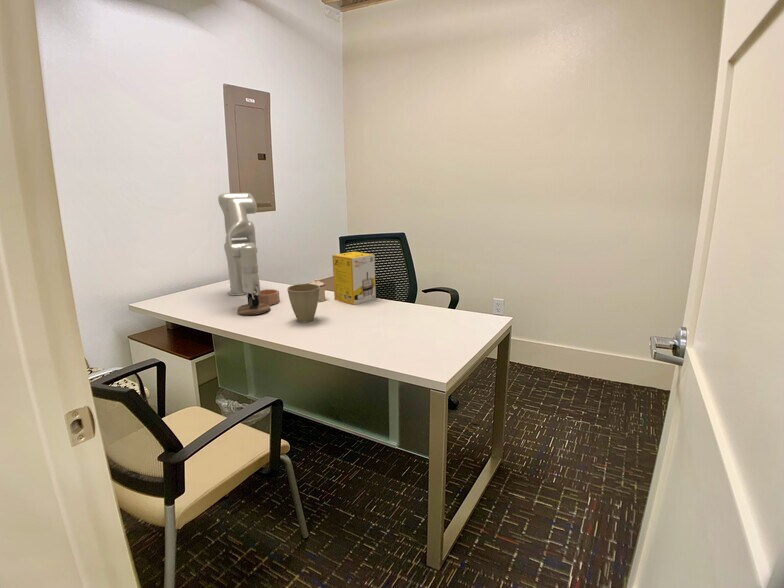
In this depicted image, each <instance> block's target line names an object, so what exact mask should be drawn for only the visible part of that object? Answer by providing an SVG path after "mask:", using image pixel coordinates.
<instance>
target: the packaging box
mask: <svg viewBox="0 0 784 588" xmlns="http://www.w3.org/2000/svg"><path fill="white" fill-rule="evenodd" d="M331 258H332V259H331V260H332V274H333V275H332V278H333V294H334V295H333V296H334V301H337V300H338V302H341V303H345V304H348V305H352V306H355V305H359V304H363V303H366V302H370V301H373V300H376V299H377V297H376V296H377V294H376V293H377V292H376V290H377V289H376V288H377V287H376V256H375V253H367V252H361V251H360V252H359V251H350V252H344V253H337V254H332V255H331Z"/></svg>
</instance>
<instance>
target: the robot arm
mask: <svg viewBox="0 0 784 588" xmlns="http://www.w3.org/2000/svg"><path fill="white" fill-rule="evenodd" d="M217 199H218V204H219V207H220V210H221V211H222V213H223V216H224V217H223V218H224V219H223V220H224V227H225V229H224V230H225V235H226V236H225V243H224V244H223V248H224V252H225V256H226V260H227V261H226V262H227V268H228V276H229V277H228V278H229V288H230V290H229V291H228V293H227V294H228V296H229V295H230V296H234V295H237V296H245V295H246V297H247V304H248V305H249V298H251V297H253V299H252V304H253V307H256V306H259V300H258V298H259V295H260V290H261V285H260V277H259V274H258V273H259V267H258V266H259V265H258V255H257V254H258V247H257V239H256V227H255V225H254V223H253V222H252V221H251V220H249V219H248V215H250V214H251V215H252V214H253V215H254V214H256V213H257V210H258V205H257V202H256V200H255V197H254V196H253V195H252V194H251V193H250V192H226V193H221V194H219V195H218V198H217ZM244 238H245V239H244ZM244 294H245V295H244ZM254 294H256V295H255V296H254Z"/></svg>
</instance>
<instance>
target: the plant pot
mask: <svg viewBox="0 0 784 588" xmlns="http://www.w3.org/2000/svg"><path fill="white" fill-rule="evenodd" d="M286 290H287V295H288V299H289V302H290V306H291V308H292V311H293V314H294V315H295V318H296V320H297V322H299V321H300V322H299V323H309V322H313V320H314V318H315V315H316V312H317V308H318V303H319V302H318V298H319V290H320V286H318V285H315V284H309V283H298V284H293V285H290V286H288V287H287V288H286Z"/></svg>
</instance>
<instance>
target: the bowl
mask: <svg viewBox="0 0 784 588" xmlns="http://www.w3.org/2000/svg"><path fill="white" fill-rule="evenodd" d="M255 295H256V294H254V296H255ZM280 299H281V298H280V290H277V289H262V290H261V289H260V295H259V298H258V300H259V303H265V304H269V305H270V306H273V305H272V304H274V305H276V304H279V302H280Z"/></svg>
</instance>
